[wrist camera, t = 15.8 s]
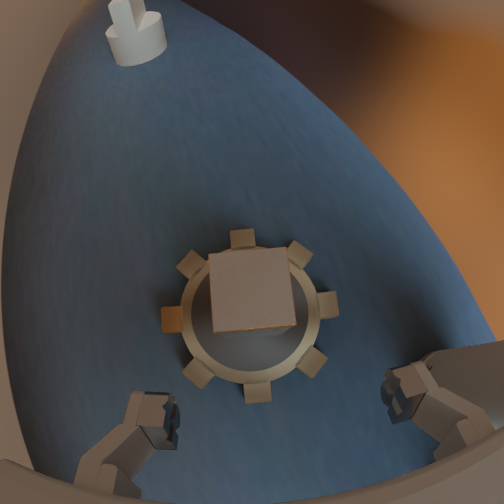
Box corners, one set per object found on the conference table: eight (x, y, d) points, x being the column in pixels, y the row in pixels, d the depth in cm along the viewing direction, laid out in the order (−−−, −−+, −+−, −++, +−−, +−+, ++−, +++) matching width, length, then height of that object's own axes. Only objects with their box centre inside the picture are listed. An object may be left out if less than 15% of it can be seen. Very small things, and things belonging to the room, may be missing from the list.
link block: (281, 335, 22) (296, 324, 14) (226, 340, 22) (213, 332, 14) (275, 283, 23) (286, 246, 16) (222, 287, 23) (207, 253, 15)
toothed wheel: (342, 387, 22) (349, 389, 20) (172, 403, 21) (166, 407, 20) (319, 229, 27) (323, 221, 25) (164, 243, 26) (159, 236, 24)
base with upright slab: (121, 45, 39) (104, -7, 28) (169, 34, 40) (158, -22, 28) (110, 71, 36) (87, 13, 25) (164, 58, 36) (149, -6, 25)
